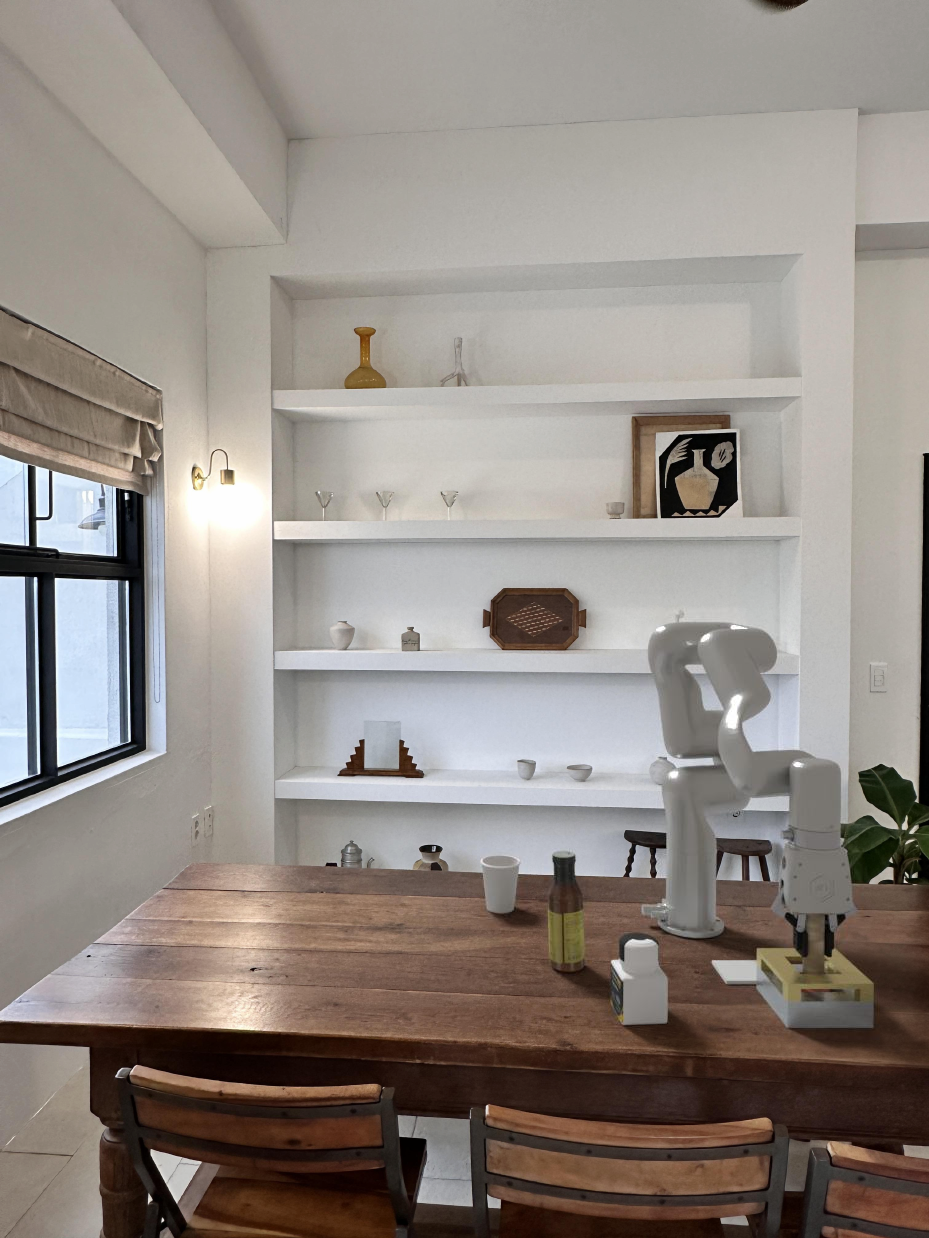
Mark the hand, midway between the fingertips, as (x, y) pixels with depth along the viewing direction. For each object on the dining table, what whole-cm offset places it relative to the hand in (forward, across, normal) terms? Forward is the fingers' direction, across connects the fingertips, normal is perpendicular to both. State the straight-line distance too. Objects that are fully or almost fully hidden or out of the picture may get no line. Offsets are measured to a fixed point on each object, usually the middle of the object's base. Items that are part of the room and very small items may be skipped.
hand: (813, 952), depth 133 cm
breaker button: (+8, 0, 0) cm, 8 cm away
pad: (+9, -7, +12) cm, 17 cm away
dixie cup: (+9, -47, +43) cm, 64 cm away
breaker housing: (+9, 0, 0) cm, 9 cm away
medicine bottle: (+9, -28, -2) cm, 30 cm away
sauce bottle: (+9, -37, +15) cm, 41 cm away
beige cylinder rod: (+5, 0, 0) cm, 5 cm away
